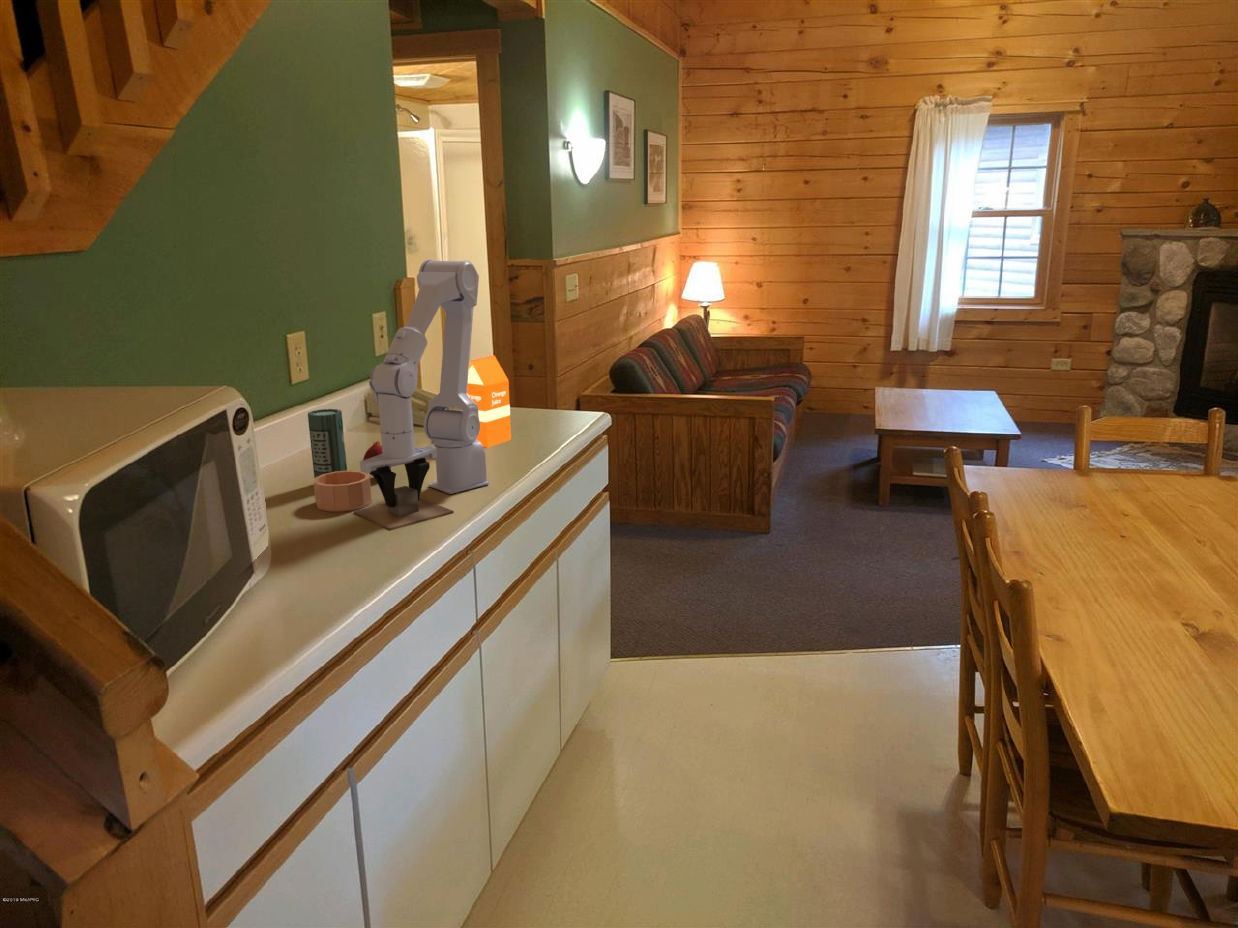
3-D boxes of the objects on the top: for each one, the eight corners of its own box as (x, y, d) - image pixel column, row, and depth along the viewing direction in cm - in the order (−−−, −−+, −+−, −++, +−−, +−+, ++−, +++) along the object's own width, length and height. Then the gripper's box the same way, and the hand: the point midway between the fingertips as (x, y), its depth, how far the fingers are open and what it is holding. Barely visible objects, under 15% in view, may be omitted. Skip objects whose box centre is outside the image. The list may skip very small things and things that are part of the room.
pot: (355, 492, 181) (353, 467, 180) (381, 503, 174) (379, 477, 173) (307, 503, 175) (304, 478, 173) (332, 515, 168) (329, 489, 166)
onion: (386, 483, 187) (382, 445, 184) (359, 482, 188) (356, 444, 186) (398, 475, 192) (395, 438, 190) (372, 474, 193) (369, 437, 191)
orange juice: (511, 439, 221) (508, 356, 215) (487, 447, 214) (483, 362, 208) (486, 435, 225) (482, 353, 219) (462, 443, 218) (457, 359, 212)
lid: (415, 500, 178) (413, 475, 176) (453, 516, 168) (452, 490, 167) (354, 516, 169) (351, 490, 168) (390, 533, 160) (388, 506, 158)
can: (353, 481, 188) (346, 409, 184) (336, 490, 182) (329, 416, 178) (327, 479, 190) (319, 408, 186) (309, 488, 184) (302, 414, 180)
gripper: (420, 420, 172) (425, 489, 176) (348, 433, 162) (355, 506, 166) (441, 426, 167) (445, 497, 171) (368, 440, 157) (375, 515, 161)
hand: (402, 502), depth 168 cm, fingers open, 4 cm apart
